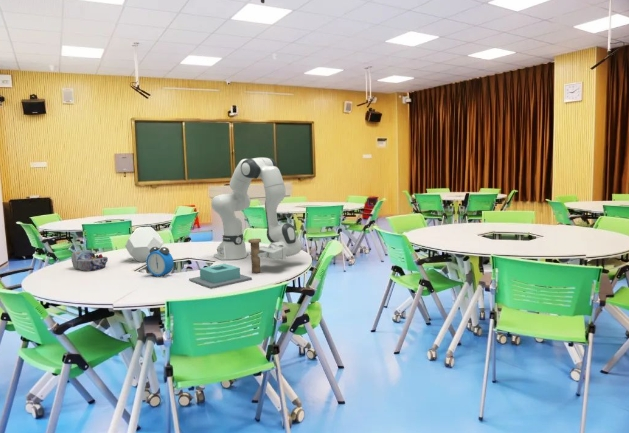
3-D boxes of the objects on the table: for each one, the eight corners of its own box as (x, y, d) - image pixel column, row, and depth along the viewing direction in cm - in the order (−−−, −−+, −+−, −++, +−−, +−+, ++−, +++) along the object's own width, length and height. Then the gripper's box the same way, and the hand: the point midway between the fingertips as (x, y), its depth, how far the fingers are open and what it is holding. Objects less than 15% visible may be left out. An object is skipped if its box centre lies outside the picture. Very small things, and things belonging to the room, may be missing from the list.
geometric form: (140, 265, 263) (137, 230, 261) (121, 261, 275) (119, 228, 273) (169, 258, 279) (167, 226, 277) (151, 255, 291) (148, 224, 289)
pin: (247, 272, 235) (246, 239, 233) (257, 270, 239) (256, 238, 237) (254, 274, 230) (252, 241, 228) (264, 272, 234) (263, 239, 233)
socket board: (189, 280, 222) (188, 268, 222) (228, 272, 237) (227, 261, 236) (211, 288, 206) (210, 275, 205) (251, 279, 220) (251, 267, 219)
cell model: (84, 247, 267) (110, 249, 259) (86, 265, 268) (111, 267, 260) (65, 251, 255) (91, 253, 247) (66, 270, 256) (92, 273, 248)
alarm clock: (147, 276, 235) (144, 247, 233) (155, 273, 241) (153, 245, 239) (167, 277, 230) (164, 248, 228) (175, 274, 236) (173, 246, 234)
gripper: (264, 242, 250) (242, 246, 241) (286, 246, 234) (264, 250, 225) (264, 253, 250) (243, 257, 241) (287, 258, 235) (265, 263, 226)
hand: (253, 254), depth 233 cm, fingers open, 5 cm apart
